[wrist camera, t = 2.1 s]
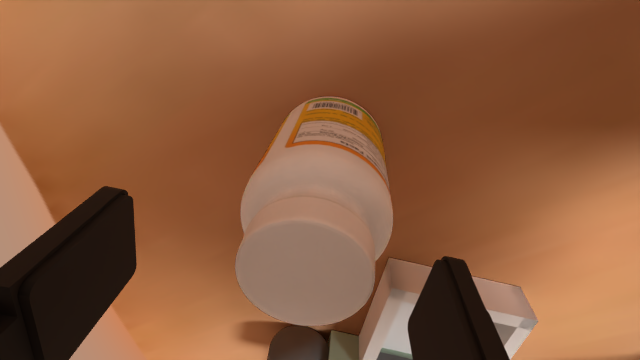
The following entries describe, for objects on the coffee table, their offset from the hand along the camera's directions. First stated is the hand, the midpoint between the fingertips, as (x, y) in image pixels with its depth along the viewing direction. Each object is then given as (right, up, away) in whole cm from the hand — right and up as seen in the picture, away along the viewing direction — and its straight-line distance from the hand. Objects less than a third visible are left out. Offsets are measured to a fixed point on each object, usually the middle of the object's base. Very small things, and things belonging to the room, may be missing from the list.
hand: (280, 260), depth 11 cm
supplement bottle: (+2, +4, +8) cm, 9 cm away
